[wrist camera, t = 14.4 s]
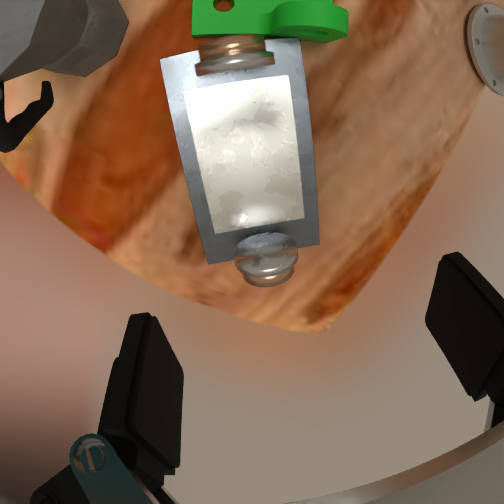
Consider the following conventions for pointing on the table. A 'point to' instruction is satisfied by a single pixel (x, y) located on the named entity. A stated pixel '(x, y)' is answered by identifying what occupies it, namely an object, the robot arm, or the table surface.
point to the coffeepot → (53, 49)
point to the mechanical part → (272, 19)
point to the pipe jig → (247, 151)
